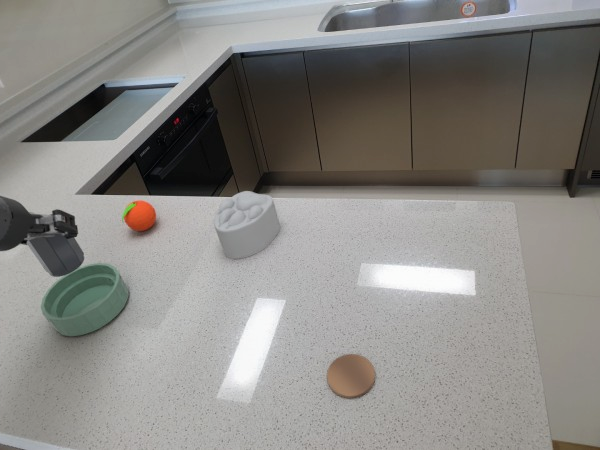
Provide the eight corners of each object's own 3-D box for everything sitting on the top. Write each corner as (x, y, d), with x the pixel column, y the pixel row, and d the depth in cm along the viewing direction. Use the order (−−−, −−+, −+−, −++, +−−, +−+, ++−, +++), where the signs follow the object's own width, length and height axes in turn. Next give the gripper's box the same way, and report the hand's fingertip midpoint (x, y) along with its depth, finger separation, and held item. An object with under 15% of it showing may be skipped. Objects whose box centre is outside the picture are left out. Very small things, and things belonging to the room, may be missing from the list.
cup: (60, 281, 75) (33, 241, 70) (42, 270, 78) (15, 231, 73) (91, 258, 79) (67, 219, 74) (72, 249, 82) (48, 211, 77)
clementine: (141, 243, 101) (128, 217, 97) (121, 236, 105) (107, 211, 101) (166, 221, 106) (155, 196, 102) (147, 216, 110) (135, 191, 105)
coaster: (359, 406, 62) (359, 404, 61) (318, 384, 66) (317, 382, 65) (383, 368, 66) (383, 366, 65) (343, 349, 69) (343, 347, 69)
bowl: (80, 350, 79) (66, 331, 76) (41, 320, 87) (27, 302, 84) (144, 295, 87) (134, 276, 84) (103, 272, 95) (92, 254, 92)
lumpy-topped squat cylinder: (286, 224, 97) (278, 190, 92) (250, 264, 89) (239, 230, 84) (248, 215, 102) (237, 182, 97) (211, 252, 94) (197, 219, 89)
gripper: (-70, 259, 60) (16, 266, 77) (37, 236, 60) (100, 248, 76) (-74, 203, 61) (11, 222, 78) (30, 181, 61) (94, 204, 77)
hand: (55, 235), depth 77 cm, fingers closed on cup, 6 cm apart
